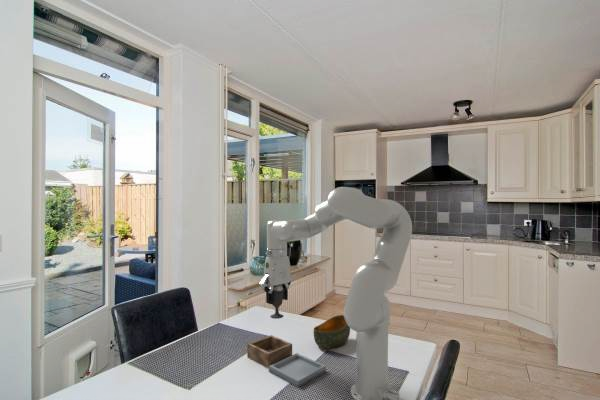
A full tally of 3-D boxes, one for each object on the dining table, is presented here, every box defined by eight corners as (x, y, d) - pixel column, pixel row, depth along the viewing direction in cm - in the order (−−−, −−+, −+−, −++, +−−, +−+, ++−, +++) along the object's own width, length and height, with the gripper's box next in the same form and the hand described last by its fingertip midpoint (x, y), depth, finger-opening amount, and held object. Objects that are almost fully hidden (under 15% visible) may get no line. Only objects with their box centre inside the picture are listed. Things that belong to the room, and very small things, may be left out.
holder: (292, 357, 124) (292, 343, 124) (268, 368, 116) (268, 354, 116) (271, 347, 133) (271, 335, 133) (247, 357, 124) (247, 343, 124)
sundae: (283, 320, 118) (283, 278, 118) (265, 318, 119) (265, 277, 120) (287, 314, 124) (287, 274, 125) (271, 313, 126) (270, 274, 126)
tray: (325, 371, 114) (325, 365, 114) (298, 387, 104) (298, 381, 104) (296, 358, 123) (296, 353, 123) (268, 371, 113) (268, 366, 113)
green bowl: (363, 347, 133) (362, 322, 133) (316, 353, 128) (315, 327, 128) (350, 335, 146) (350, 313, 146) (307, 340, 141) (307, 316, 141)
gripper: (265, 256, 114) (265, 308, 113) (300, 251, 126) (300, 298, 126) (252, 254, 119) (252, 304, 118) (286, 250, 131) (286, 295, 131)
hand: (277, 301), depth 122 cm, fingers closed on sundae, 6 cm apart
